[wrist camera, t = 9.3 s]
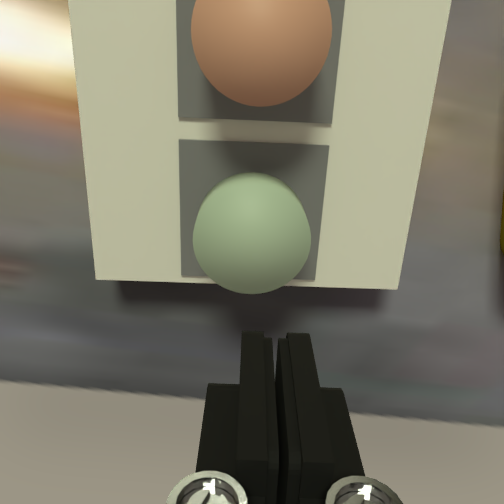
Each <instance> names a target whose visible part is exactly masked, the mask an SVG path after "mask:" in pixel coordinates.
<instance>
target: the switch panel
mask: <svg viewBox="0 0 504 504" xmlns="http://www.w3.org/2000/svg"><path fill="white" fill-rule="evenodd" d="M327 1H328V4H329V7H330V12H331V19H332V38H331V44H330V49H329V52H328V56H327V58H326V61H325V63H324V65H323V67H322V69H321V71H320V73H319V74H318V76H317V77H316V78H315V80H314V81H313V82H312V83H311V84H310V85H309V86H308V87H307V88H306V89H305V90H304V91H303V92H302V93H300V94H299V95H297V96H296V97H294V98H292V99H290V100H288V101H286V102H284V103H281V104H277V105H273V106H264V107H257V106H249V105H245V104H241V103H238V102H236V101H234V100H232V99H230V98H228V97H226V96H225V95H223V94H222V93H221V92H219V91H218V90H217V89H216V88H215V87H214V86H213V85H212V84H211V83H210V82H209V80H208V79H207V78H206V77H205V75H204V73H203V72H202V70H201V68H200V66H199V64H198V62H197V60H196V57H195V53H194V50H193V45H192V39H191V19H192V14H193V9H194V5H195V2H196V0H68V5H69V15H70V25H71V35H72V45H73V55H74V65H75V75H76V85H77V95H78V105H79V115H80V125H81V135H82V145H83V155H84V165H85V175H86V185H87V194H88V204H89V214H90V224H91V234H92V244H93V254H94V264H95V274H96V280H125V281H155V282H185V283H215V282H214V281H213V280H212V279H210V278H209V277H208V276H207V275H206V273H205V272H204V271H203V270H202V268H201V267H200V265H199V263H198V261H197V259H196V256H195V253H194V248H193V231H194V226H195V222H196V219H197V216H198V212H199V209H200V206H201V204H202V202H203V200H204V198H205V196H206V195H207V194H208V192H209V191H210V190H211V189H212V188H213V187H214V186H215V185H217V184H218V183H219V182H221V181H222V180H224V179H226V178H228V177H230V176H233V175H236V174H240V173H246V172H256V173H263V174H267V175H270V176H273V177H276V178H277V179H279V180H281V181H283V182H284V183H285V184H287V185H288V186H289V187H290V188H291V189H292V190H293V191H294V192H295V194H296V195H297V196H298V198H299V200H300V201H301V204H302V206H303V209H304V212H305V214H306V217H307V220H308V223H309V227H310V232H311V246H310V252H309V255H308V258H307V260H306V262H305V264H304V266H303V267H302V269H301V270H300V272H299V273H298V274H297V275H296V276H295V277H294V278H293V279H292V280H291V281H289V282H288V283H287V284H285V285H283V286H307V287H337V288H367V289H397V288H398V283H399V278H400V272H401V267H402V262H403V256H404V251H405V246H406V240H407V235H408V230H409V224H410V219H411V214H412V208H413V203H414V198H415V192H416V187H417V182H418V176H419V171H420V166H421V160H422V155H423V150H424V144H425V139H426V134H427V128H428V123H429V118H430V112H431V107H432V102H433V96H434V91H435V86H436V81H437V75H438V70H439V65H440V59H441V54H442V49H443V43H444V38H445V33H446V27H447V22H448V17H449V11H450V6H451V1H452V0H327ZM216 284H217V283H216Z"/></svg>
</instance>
